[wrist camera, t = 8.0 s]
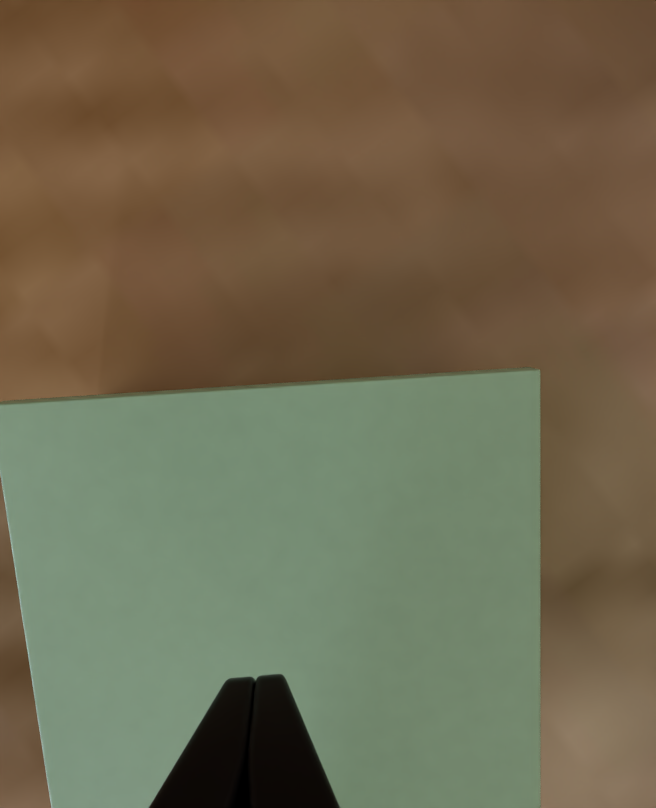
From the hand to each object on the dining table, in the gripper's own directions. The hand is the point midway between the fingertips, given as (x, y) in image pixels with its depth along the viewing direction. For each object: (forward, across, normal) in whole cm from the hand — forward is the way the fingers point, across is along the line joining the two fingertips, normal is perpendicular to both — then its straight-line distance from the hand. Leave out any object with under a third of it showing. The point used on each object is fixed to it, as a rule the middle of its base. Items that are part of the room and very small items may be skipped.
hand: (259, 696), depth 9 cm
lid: (+7, 0, +5) cm, 8 cm away
